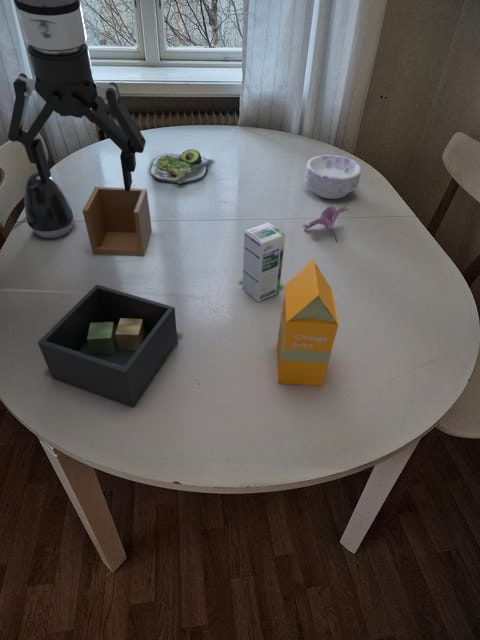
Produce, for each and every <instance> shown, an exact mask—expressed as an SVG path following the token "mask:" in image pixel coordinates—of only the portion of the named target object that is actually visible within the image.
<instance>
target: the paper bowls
mask: <svg viewBox="0 0 480 640" xmlns="http://www.w3.org/2000/svg"><path fill="white" fill-rule="evenodd" d="M361 174H362V167H361V166H360V164H359V163H358V162H357V161H355V160H354V159H351V158H349V157H345V156H342V155H336V154H323V155H317V156H313V157H311V158H310V159H309V160H308V161H307V162H306V167H305V174H304V182H305V184H306V185H307V186H308V187H309V188H311V191H312V192H313V194H315V195H316V196H318V197H320V198H323V199H328V200H337V199H341V198H343V197H345V196H346V195H348V193H351V192H353V191H355V190H356V189H358V186H359V184H360V179H361Z"/></svg>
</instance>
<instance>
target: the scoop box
mask: <svg viewBox="0 0 480 640" xmlns="http://www.w3.org/2000/svg"><path fill="white" fill-rule="evenodd" d="M148 196H149V195H148V189H147V188H135V187H133V188H132V187H131V188H130V191H125V187H108V186H107V187H106V186H104V187H103V186H95V187H94V188H93V190H92V192H91V194H90V196H89V197H88V199H87V201H86V203H85V205H84V207H83V208H82V215H83V219H84V223H85V227H86V231H87V235H88V240H89V244H90V248H91V253H92V255H95V256H97V255H98V256H124V257H145V256H146V253H147V249H148V245H149V243H150V240H151V236H152V233H153V230H152V229H153V228H152V220H151V212H150V206H149V205H150V204H149V197H148Z"/></svg>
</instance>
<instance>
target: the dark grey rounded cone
mask: <svg viewBox="0 0 480 640" xmlns="http://www.w3.org/2000/svg"><path fill="white" fill-rule="evenodd" d="M23 193H24V194H23V195H24V196H23V197H24V198H23V199H24V212H25V219H26V223H27V225H28V227H29V228H31V229H32V231H33V232H34V233H35V234H36V235H37V236H39V237H41V238H44V239H57V238H61V237H64V236H65V235H68V233H70V231H71V230H72V228H73V224H74V223H73V221H74V218H75V217H74V212H73V210H72V207H71V205H70V203H69V201H68V199H67V197H66V196H65V193H64V192H63V190H62V189H61V187H60V186H59V185H58V183H57V181H56V180H55V179H54V178H53V177H52V176H50V178H49V180H48V183H47V184H42V182H41V179H40V176H39V173H38V171H35V172H32V173H31V174H29V175H28V177H27V179H26V181H25V185H24V191H23Z"/></svg>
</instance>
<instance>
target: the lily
mask: <svg viewBox="0 0 480 640" xmlns="http://www.w3.org/2000/svg"><path fill="white" fill-rule="evenodd" d="M350 205H351V203H348V204H345V205H344V206H341V207H339V208H338V209H337V207H335V206H334V205H329V206H328V207H326V208H325V209H323V211H322V212H321V214H320V217H319V218H316V219H314V220H312V221H311V222H309V223H308V225H307V226H306V227H305V228H304V231H307V230H308V229H310V228H312V227H313V226H316V225H322V226H327V227H330V228H331V229H332V232H333V236H334V239H335V243H338V239H337V234H336V231H335V227H334V224H335V222H336V220H337V218H338V216H339V215H340V214H341V213H343V212H346V211H348V210H349V208H348V207H349V206H350Z"/></svg>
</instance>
